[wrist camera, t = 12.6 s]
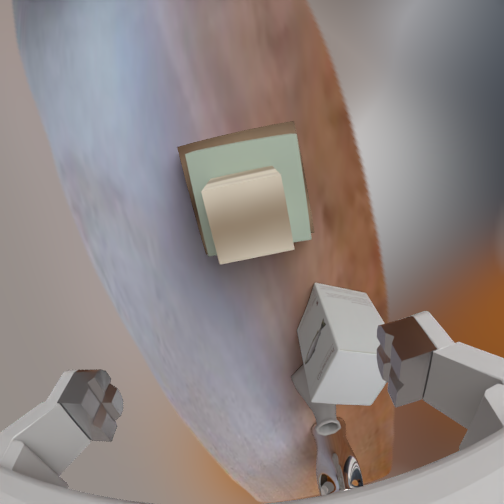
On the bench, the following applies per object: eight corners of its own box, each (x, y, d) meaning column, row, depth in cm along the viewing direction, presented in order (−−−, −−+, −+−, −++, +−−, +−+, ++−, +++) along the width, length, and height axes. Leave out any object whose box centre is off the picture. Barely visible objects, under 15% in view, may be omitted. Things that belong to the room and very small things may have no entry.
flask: (309, 398, 45) (318, 449, 35) (281, 375, 42) (288, 429, 33) (348, 375, 43) (365, 426, 34) (324, 349, 41) (340, 403, 31)
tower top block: (193, 151, 28) (185, 154, 24) (290, 133, 27) (296, 133, 23) (213, 240, 31) (208, 256, 27) (304, 225, 30) (311, 239, 27)
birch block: (210, 178, 25) (201, 191, 19) (272, 165, 24) (280, 174, 19) (224, 236, 26) (219, 264, 21) (283, 224, 26) (294, 249, 21)
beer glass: (330, 439, 49) (344, 506, 36) (301, 432, 48) (310, 504, 34) (355, 419, 47) (375, 488, 33) (325, 411, 46) (342, 487, 32)
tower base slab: (185, 145, 31) (177, 147, 28) (288, 122, 30) (294, 120, 27) (210, 240, 35) (206, 254, 32) (307, 221, 34) (314, 232, 31)
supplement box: (313, 280, 37) (338, 347, 25) (367, 292, 37) (406, 355, 26) (294, 330, 39) (308, 403, 28) (345, 338, 40) (372, 407, 28)
